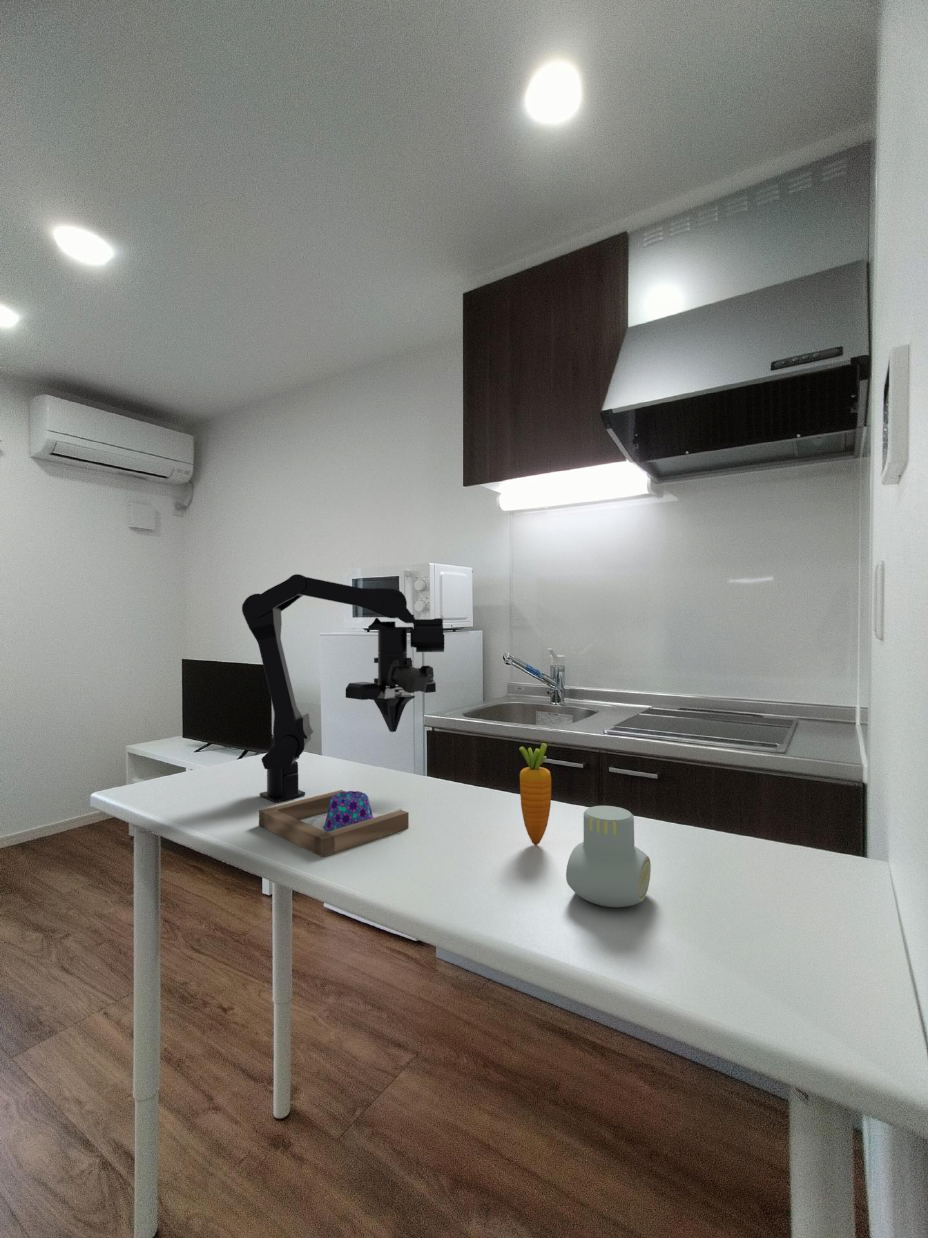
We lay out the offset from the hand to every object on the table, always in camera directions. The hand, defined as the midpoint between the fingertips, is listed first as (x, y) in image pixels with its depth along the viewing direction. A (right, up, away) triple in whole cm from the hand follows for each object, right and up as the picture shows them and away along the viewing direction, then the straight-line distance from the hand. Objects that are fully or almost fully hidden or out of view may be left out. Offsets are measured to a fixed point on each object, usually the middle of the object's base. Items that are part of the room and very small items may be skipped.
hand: (392, 731), depth 112 cm
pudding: (-5, -12, -19) cm, 23 cm away
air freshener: (+31, -11, -44) cm, 55 cm away
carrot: (+25, -12, -28) cm, 39 cm away
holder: (-7, -12, -19) cm, 23 cm away
